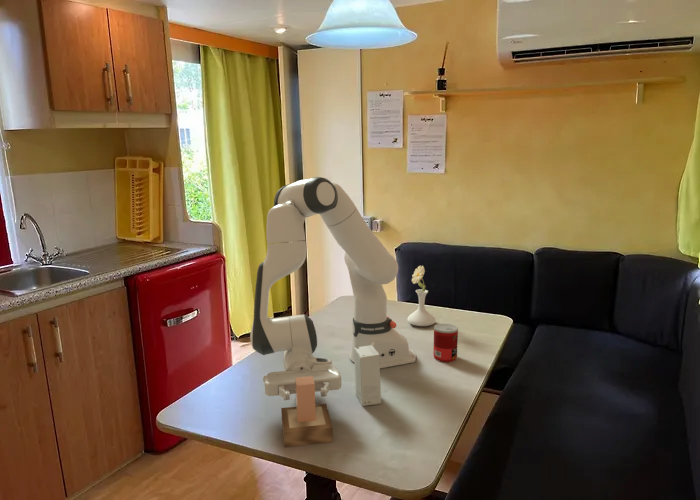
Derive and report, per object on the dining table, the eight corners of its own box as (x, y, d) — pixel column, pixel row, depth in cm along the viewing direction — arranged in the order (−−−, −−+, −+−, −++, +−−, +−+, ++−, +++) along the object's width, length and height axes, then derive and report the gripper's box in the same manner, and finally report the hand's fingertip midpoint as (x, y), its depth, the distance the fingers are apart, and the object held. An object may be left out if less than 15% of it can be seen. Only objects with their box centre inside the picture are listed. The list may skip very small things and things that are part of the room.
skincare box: (381, 404, 149) (381, 355, 146) (360, 407, 148) (360, 357, 145) (373, 390, 157) (373, 344, 154) (353, 393, 156) (353, 346, 153)
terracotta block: (313, 411, 138) (312, 376, 136) (315, 420, 133) (314, 383, 131) (296, 413, 137) (295, 377, 135) (297, 422, 133) (296, 385, 130)
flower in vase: (407, 318, 219) (408, 260, 214) (435, 319, 218) (436, 260, 213) (406, 329, 207) (407, 267, 202) (435, 330, 205) (437, 268, 200)
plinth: (326, 417, 143) (326, 403, 142) (332, 441, 131) (332, 426, 130) (281, 421, 141) (281, 407, 140) (284, 447, 129) (283, 431, 128)
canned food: (456, 363, 176) (458, 332, 173) (432, 361, 177) (433, 330, 175) (457, 354, 183) (458, 324, 181) (433, 352, 185) (434, 322, 182)
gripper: (262, 364, 144) (263, 387, 130) (336, 358, 147) (344, 380, 134) (263, 386, 145) (264, 411, 132) (336, 379, 149) (345, 403, 135)
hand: (305, 395), depth 133 cm, fingers open, 8 cm apart
